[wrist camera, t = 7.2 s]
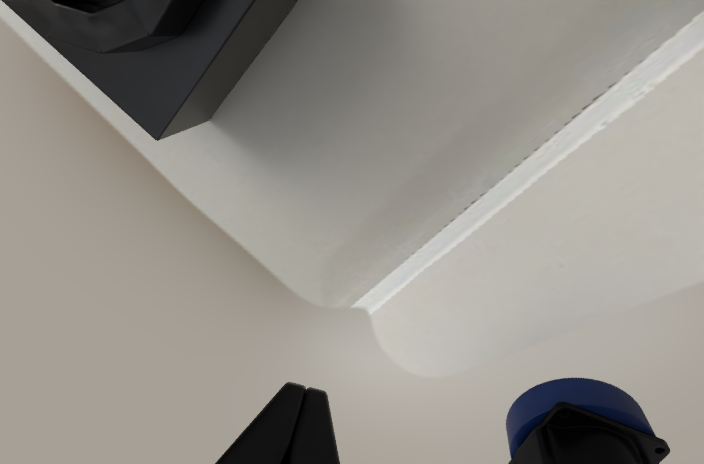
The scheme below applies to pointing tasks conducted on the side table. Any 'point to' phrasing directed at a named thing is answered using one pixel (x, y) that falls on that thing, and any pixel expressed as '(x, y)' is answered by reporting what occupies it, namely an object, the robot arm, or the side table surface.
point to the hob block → (158, 50)
